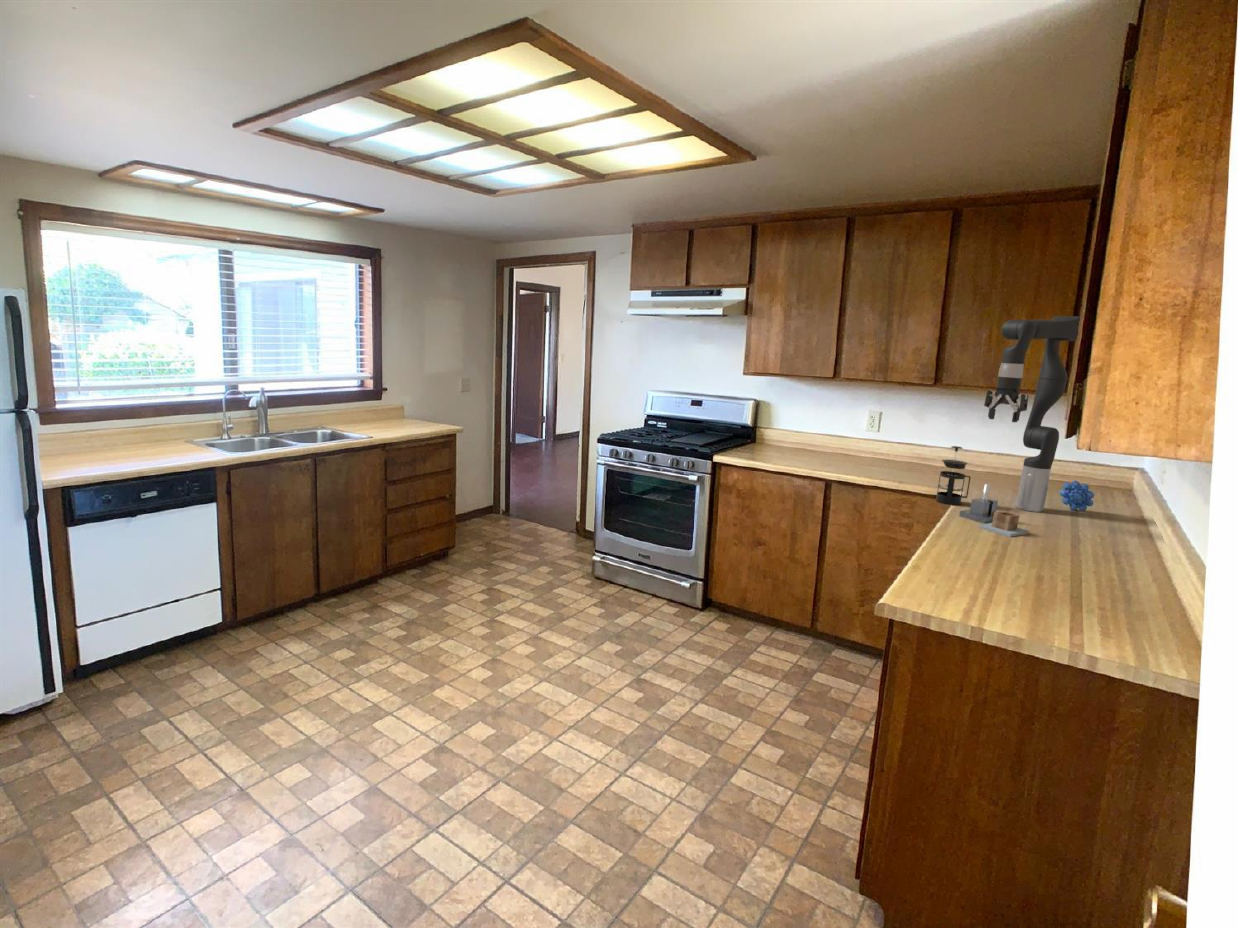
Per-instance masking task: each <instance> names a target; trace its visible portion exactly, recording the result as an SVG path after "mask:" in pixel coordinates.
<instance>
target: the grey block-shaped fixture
mask: <svg viewBox="0 0 1238 928" xmlns="http://www.w3.org/2000/svg"><path fill="white" fill-rule="evenodd" d="M991 487H992V486H991V484H990V483H984V484H983V491H982V495H981V497H979V498H971V502H970V508H969V509H965V510H959V512H958V513H959V514H958V517H960V518H965V519H968V520H971V521H974V522H978V523H982V524H988V523H992V522H993V516H994V512H997V510H998V503H999V501H998V500H996V499H992V498H989V496H990V490H991Z"/></svg>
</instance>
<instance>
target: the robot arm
mask: <svg viewBox="0 0 1238 928" xmlns="http://www.w3.org/2000/svg"><path fill="white" fill-rule="evenodd" d="M1080 317H1081V316H1075V315H1073V316H1071V315H1070V316H1069V315H1062V316H1061V315H1059V316H1053V317H1052V319H1009V320H1007V321H1005V322H1004V323H1003V324H1002V326H1001V328H1000V333H1001V336H1002V337H1003V339H1006V340H1009V341H1010V340H1011V341H1012V340H1015V341H1016V343H1015V344H1014V345H1011V346H1007V347H1005V348H1004V349H1003V351H1002V357H1001V363H1000V366H999V371H998V376H997V382H996V390H991V389H990V390H987V391H986V396H985V400H984V403H983V405H984V407H986V408H988V414H987V417H988V419H989V420H994V419H995V415H996V412H997V409H996V408H997V407H998V406H999V405H1009V406H1010V407H1011V408H1012V410H1013V412H1012V413H1013V414H1012V418H1011V422H1012V423H1018V422H1019V421H1020V418H1021V417H1020V416H1021V413H1022V412H1025V411H1027V409H1028V403H1029V394H1027V393H1020V390H1021V387H1022V382H1023V376H1024V371H1025V370H1024V369H1025V368H1024V365H1025V361H1026V354H1027V351H1028V349H1029V347H1030V345H1031V343H1032V341H1033V340H1044V339H1045V344H1044V350H1043V351H1044V352H1043V358H1042V363H1041V367H1040V372H1039V376H1038V379H1037V384H1036V387H1035V393H1034V398H1033V402H1032V407H1031V411H1030V413H1029V417H1028V419H1027V423H1026V425H1025V429H1024V432H1023V437H1022V441H1023V442H1022V443H1023V446H1024V447H1026V448H1029V449H1034V450H1038V451H1040V452H1039V454H1037V455H1035V456H1030V457H1025V458H1024V460H1023V464H1022V465H1023V466H1022V470H1021V471H1022V472H1021V477H1020V481H1019V482H1020V483H1019V488H1018V492H1017V493H1018V494H1017V497H1016V498H1017V499H1016V502H1015V503H1016V504H1015V507H1016V508H1017V509H1019V510H1023V511H1029V512H1036V513H1040V512H1043V511H1044V510H1045V505H1046V499H1047V494H1048V489H1049V486H1048V485H1049V481H1050V476H1051V471H1052V466H1053V463H1054V460H1055V456H1056V453H1057V448H1058V444H1059V441H1060V432H1059V430H1058V428H1056V427H1051V426H1043V425H1042V422H1043V420H1044V417H1045V415H1046V414H1047V412H1049V410H1050V409H1051V408H1052V407H1053V406H1054V405H1055V404H1056V403H1057V402H1058V401H1059V400H1060V399H1061V398H1062V397H1063V396H1064V393H1065V390H1066V385H1067V381H1068V373H1067V369H1066V368H1065V365H1064V364H1063V361H1062V359H1061V356H1060V345H1061V342H1075V341H1077V340H1076V339H1077V335H1078V326H1079V321H1080ZM994 396H995V397H996V398H994ZM993 398H994V399H993ZM1018 399H1019V401H1018ZM1019 402H1020V403H1019Z"/></svg>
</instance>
